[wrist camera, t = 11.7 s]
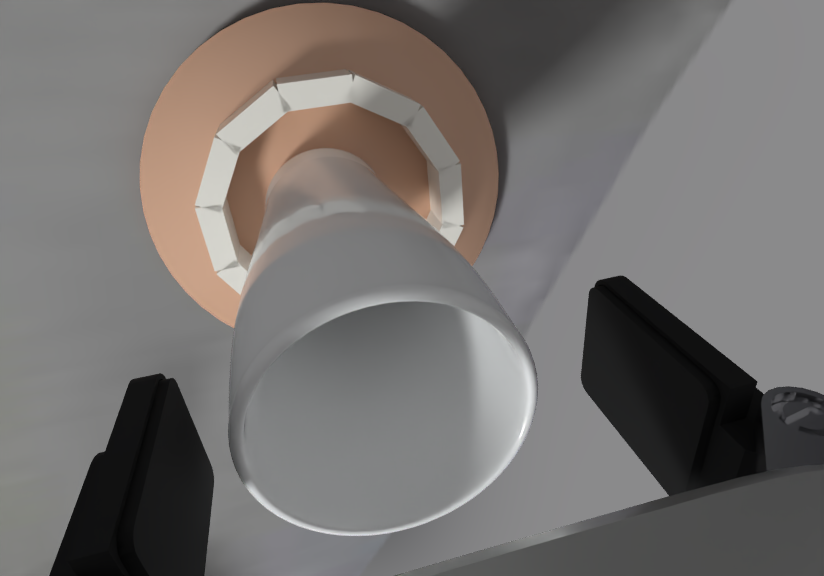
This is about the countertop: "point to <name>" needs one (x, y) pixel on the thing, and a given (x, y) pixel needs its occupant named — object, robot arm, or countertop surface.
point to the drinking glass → (368, 359)
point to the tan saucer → (308, 135)
